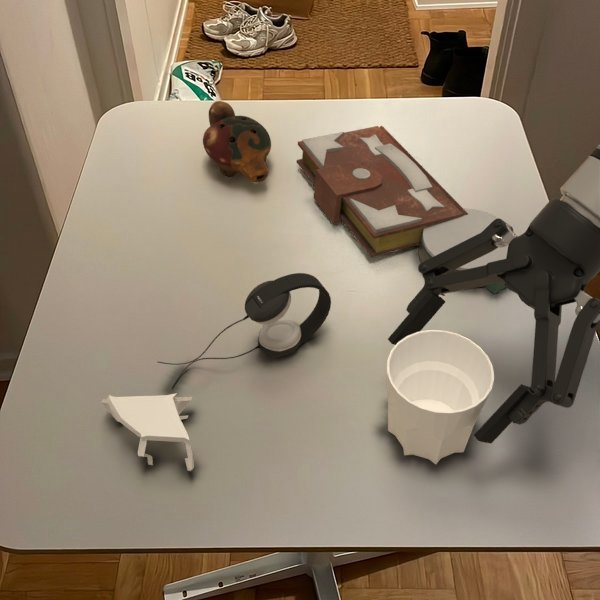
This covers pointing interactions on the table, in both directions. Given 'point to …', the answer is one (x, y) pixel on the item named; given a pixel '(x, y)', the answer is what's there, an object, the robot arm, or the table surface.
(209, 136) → the ocarina
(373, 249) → the book
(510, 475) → the table surface
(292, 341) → the headphones
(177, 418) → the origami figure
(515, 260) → the robot arm
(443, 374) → the cup
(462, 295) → the table surface
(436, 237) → the scale
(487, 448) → the table surface
